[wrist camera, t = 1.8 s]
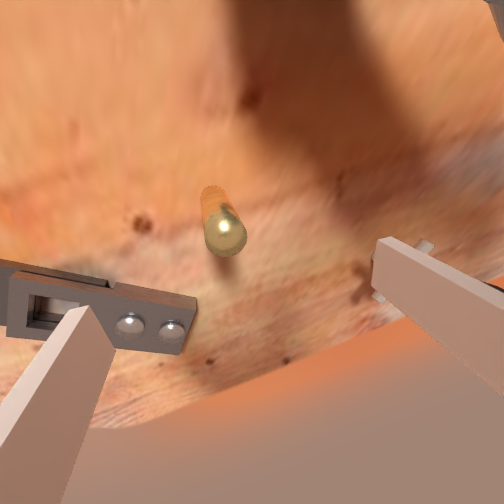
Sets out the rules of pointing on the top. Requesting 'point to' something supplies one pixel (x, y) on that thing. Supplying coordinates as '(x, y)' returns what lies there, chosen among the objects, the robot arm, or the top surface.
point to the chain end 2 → (105, 312)
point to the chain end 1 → (4, 269)
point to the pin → (221, 223)
